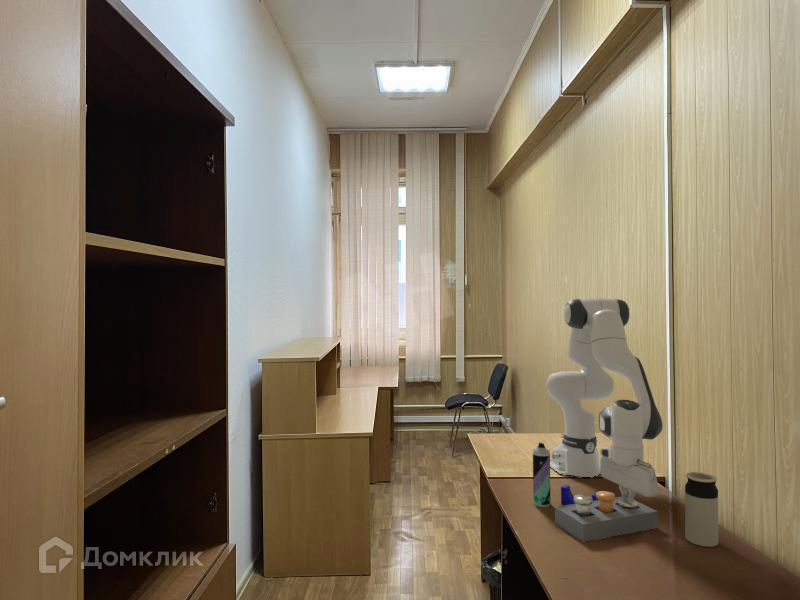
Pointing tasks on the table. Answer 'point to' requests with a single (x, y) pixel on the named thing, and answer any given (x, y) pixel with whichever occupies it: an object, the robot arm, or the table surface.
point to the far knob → (627, 504)
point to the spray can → (541, 476)
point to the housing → (605, 520)
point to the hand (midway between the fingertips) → (628, 501)
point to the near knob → (583, 505)
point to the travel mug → (701, 509)
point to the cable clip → (570, 496)
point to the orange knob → (605, 501)
